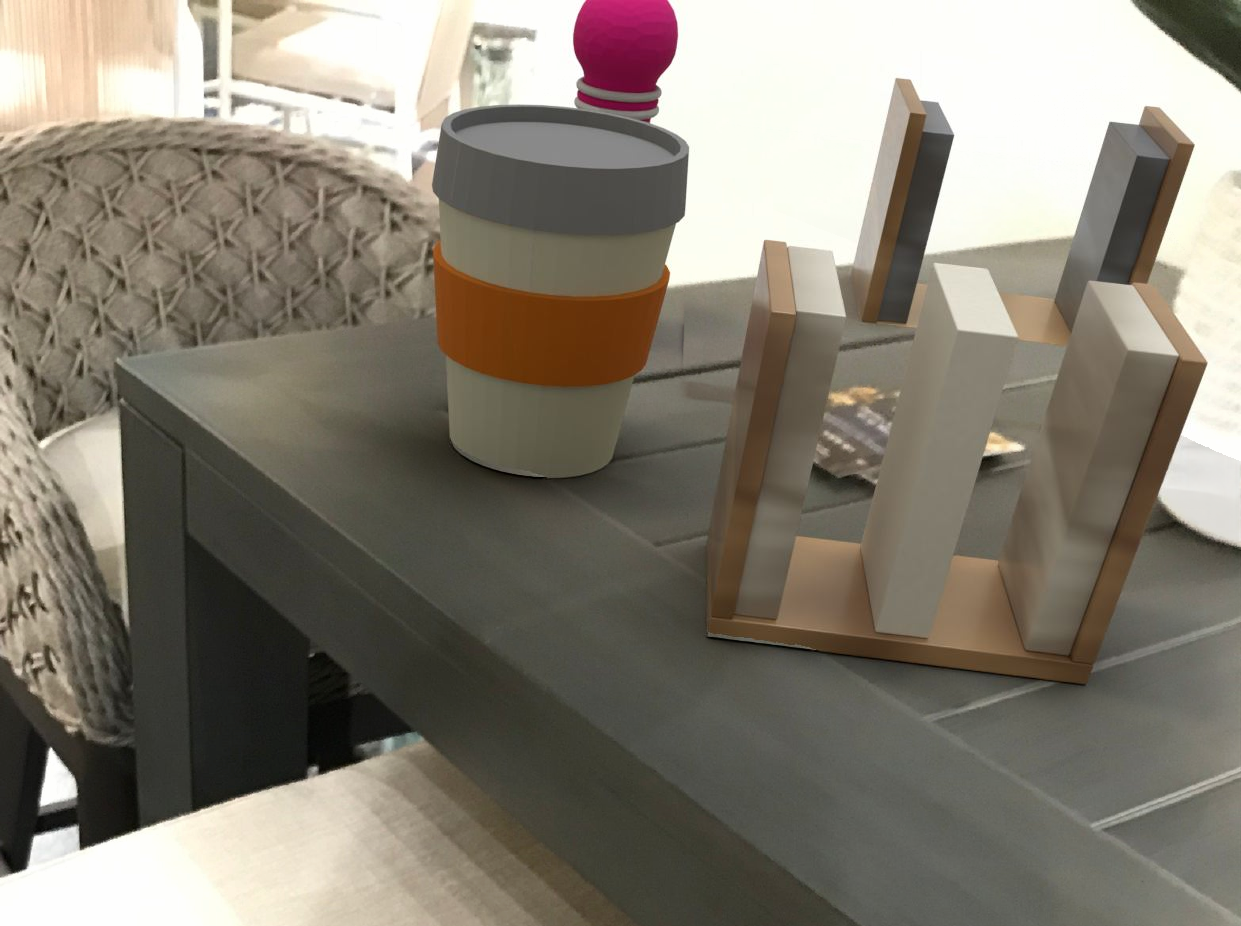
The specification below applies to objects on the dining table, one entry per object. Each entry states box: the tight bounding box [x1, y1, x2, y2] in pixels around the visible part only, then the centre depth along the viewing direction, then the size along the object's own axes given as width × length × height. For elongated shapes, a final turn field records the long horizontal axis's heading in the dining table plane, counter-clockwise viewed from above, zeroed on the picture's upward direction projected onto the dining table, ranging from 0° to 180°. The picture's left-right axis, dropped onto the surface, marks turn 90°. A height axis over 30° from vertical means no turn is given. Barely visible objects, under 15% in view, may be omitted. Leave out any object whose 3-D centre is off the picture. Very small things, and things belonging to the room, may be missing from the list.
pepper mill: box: [572, 0, 679, 123], centre depth 97 cm, size 7×7×20 cm
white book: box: [860, 262, 1019, 638], centre depth 71 cm, size 2×9×13 cm, turn 173°
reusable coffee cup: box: [431, 104, 690, 479], centre depth 83 cm, size 13×13×15 cm
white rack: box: [705, 239, 1208, 685], centre depth 71 cm, size 17×10×14 cm, turn 83°
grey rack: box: [850, 77, 1196, 347], centre depth 105 cm, size 17×10×13 cm, turn 83°
